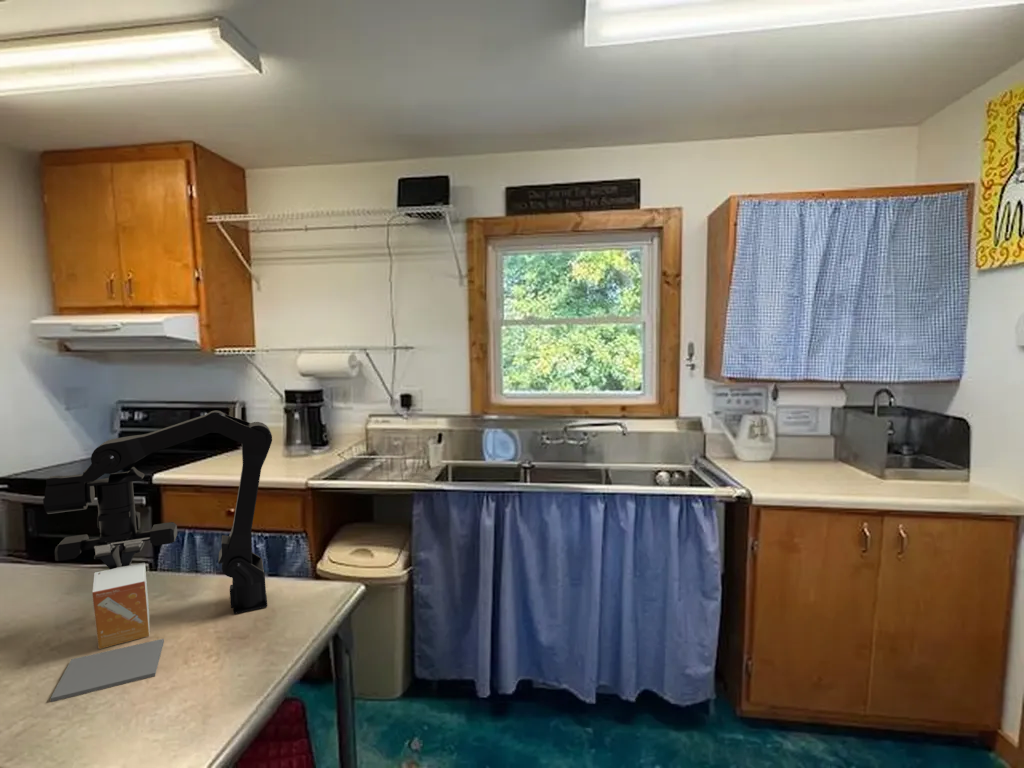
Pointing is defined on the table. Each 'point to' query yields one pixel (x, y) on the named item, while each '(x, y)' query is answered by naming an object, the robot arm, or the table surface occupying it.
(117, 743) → the table surface
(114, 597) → the small box
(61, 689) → the mat
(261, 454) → the robot arm
